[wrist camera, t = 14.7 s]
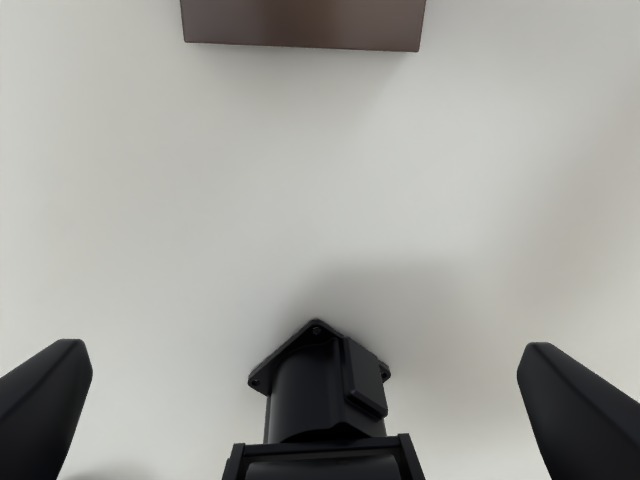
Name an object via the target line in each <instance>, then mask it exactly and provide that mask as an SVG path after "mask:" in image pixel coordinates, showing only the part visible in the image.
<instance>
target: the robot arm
mask: <svg viewBox="0 0 640 480" xmlns="http://www.w3.org/2000/svg"><path fill="white" fill-rule="evenodd" d="M315 327H318V328H319V329H313V328H315ZM92 376H93V370H92V365H91V362H90V359H89V355H88V352H87V349H86V345H85V343H84V342H83V341H82V340H80V339H60V340H58V341H56V342H54V343H53V344H51V345H50V346H48V347H47V348H45V349H44V350H42V351H41V352H39V353H38V354H36V355H35V356H33V357H31V358H30V359H28V360H27V361H25V362H24V363H22V364H21V365H19V366H18V367H16V368H15V369H13V370H12V371H10V372H9V373H7V374H6V375H4V376H3V377H1V378H0V480H56V479H57V477H58V474H59V472H60V470H61V468H62V465H63V463H64V461H65V458H66V456H67V453H68V451H69V448H70V445H71V442H72V439H73V436H74V433H75V430H76V427H77V424H78V421H79V418H80V415H81V412H82V409H83V406H84V403H85V399H86V396H87V393H88V390H89V387H90V384H91V381H92ZM390 376H391V373H390V369H389V367H388V366H387V365H385V364H384V363H382V362H381V361H379V360H378V358H377V357H376V356H375V355H374V354H372V353H371V352H369V351H368V350H366V349H365V348H364V347H362V346H361V345H359V344H358V343H356V342H355V341H353V340H352V339H351V338H349V337H345V336H343V335H342V334H340V333H339V332H337V331H336V330H334V329H333V328H332V327H330V326H329V325H327V324H326V323H324V322H323V321H321V320H318V319H315V320H312V321H310V322H309V323H308V324H306V325H305V326H304V327H303V328H302V329H301V330H300V331H298V332H297V333H296V334H295V335H294V336H293V337H292V338H291V339H289V340H288V341H287V342H286V343H285V344H284V345H283V346H281V347H280V348H279V349H278V350H277V351H276V352H275V353H274V354H272V355H271V356H270V357H269V358H268V359H267V360H266V361H264V362H263V363H262V364H261V365H260V366H259V367H258V368H257V369H255V370H254V371H253V372H252V373H251V374H250V375H249V377H248V385H249V386H250V387H251V388H253V389H255V390H256V391H258V392H260V393H262V394H263V395H265V396H267V405H266V416H265V428H264V440H263V444H253V445H245V443H237V444H234V445H233V449H232V452H231V456H230V458H228V459H227V462H226V466H225V469H224V473H223V476H222V480H426V479H425V477H424V474H423V471H422V468H421V466H420V463H419V460H418V457H417V455H416V452H415V449H414V446H413V444H412V441H411V438H410V435H409V433H403V434H398V435H397V436H387V434H386V429H385V423H384V418H385V417H386V416H387V415H388V407H387V402H386V397H385V393H384V388H383V383H384V382H385V381H387V380H388V379H389V378H390ZM255 380H258V381H255ZM517 382H518V385H519V388H520V391H521V395H522V398H523V401H524V404H525V407H526V410H527V413H528V416H529V420H530V423H531V426H532V429H533V432H534V435H535V438H536V441H537V444H538V447H539V450H540V453H541V455H542V458H543V460H544V463H545V465H546V467H547V470H548V472H549V474H550V476H551V479H552V480H640V403H638V402H637V401H635V400H634V399H632V398H631V397H629V396H628V395H626V394H625V393H623V392H622V391H620V390H619V389H617V388H616V387H614V386H613V385H612V384H610V383H609V382H607V381H606V380H604V379H603V378H601V377H600V376H598V375H597V374H595V373H594V372H592V371H591V370H589V369H588V368H586V367H585V366H583V365H582V364H580V363H579V362H578V361H576V360H575V359H573V358H572V357H570V356H569V355H567V354H566V353H564V352H563V351H561V350H560V349H558V348H557V347H555V346H554V345H552V344H550V343H547V342H531V343H529V344H528V345H527V346H526V348H525V350H524V353H523V356H522V358H521V361H520V364H519V366H518V369H517Z"/></svg>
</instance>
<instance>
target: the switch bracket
mask: <svg viewBox="0 0 640 480" xmlns="http://www.w3.org/2000/svg"><path fill="white" fill-rule="evenodd" d="M425 4H426V0H180V5H181V15H182V25H183V35H184V41H185V42H186V43H209V44H232V45H256V46H279V47H302V48H325V49H349V50H372V51H395V52H418V51H419V46H420V39H421V32H422V25H423V18H424V11H425Z"/></svg>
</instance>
